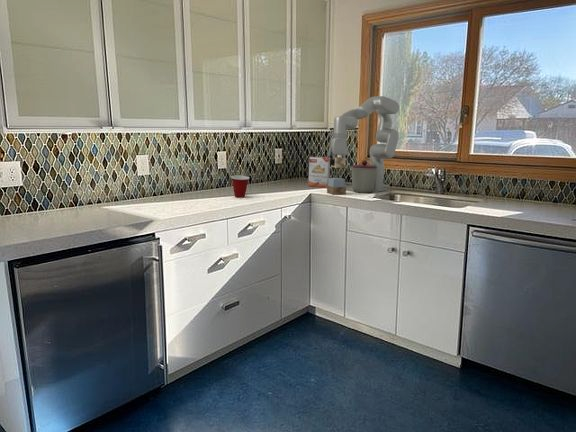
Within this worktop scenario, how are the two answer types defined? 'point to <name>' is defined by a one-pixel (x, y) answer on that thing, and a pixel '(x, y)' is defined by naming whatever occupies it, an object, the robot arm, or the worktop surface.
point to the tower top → (336, 182)
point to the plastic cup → (240, 185)
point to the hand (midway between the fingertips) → (337, 165)
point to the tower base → (336, 190)
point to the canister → (363, 177)
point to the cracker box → (319, 171)
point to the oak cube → (339, 162)
